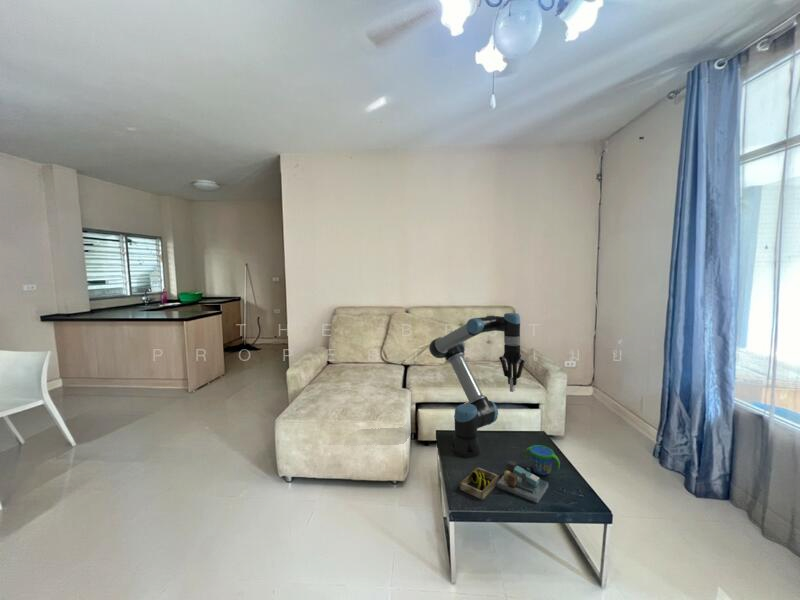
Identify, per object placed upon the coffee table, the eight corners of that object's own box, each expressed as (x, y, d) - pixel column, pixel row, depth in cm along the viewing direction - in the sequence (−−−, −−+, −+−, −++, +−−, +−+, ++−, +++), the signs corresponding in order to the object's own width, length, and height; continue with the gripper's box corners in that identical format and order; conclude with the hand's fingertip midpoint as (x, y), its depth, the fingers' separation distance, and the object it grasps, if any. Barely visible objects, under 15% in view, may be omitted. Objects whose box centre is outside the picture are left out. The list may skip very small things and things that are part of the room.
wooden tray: (460, 489, 140) (460, 482, 140) (477, 473, 152) (477, 467, 151) (482, 499, 133) (482, 492, 133) (499, 482, 145) (499, 475, 144)
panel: (497, 486, 141) (496, 471, 141) (510, 472, 152) (509, 458, 152) (537, 503, 130) (537, 486, 130) (548, 486, 141) (548, 471, 140)
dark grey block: (507, 471, 148) (507, 463, 148) (510, 468, 151) (510, 460, 150) (513, 474, 146) (513, 465, 146) (516, 471, 149) (516, 462, 149)
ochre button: (503, 478, 144) (503, 472, 143) (505, 475, 146) (505, 469, 146) (509, 480, 142) (509, 475, 141) (512, 477, 144) (512, 472, 144)
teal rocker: (512, 473, 143) (513, 468, 143) (516, 469, 146) (517, 464, 146) (535, 486, 137) (536, 482, 136) (538, 482, 140) (540, 477, 139)
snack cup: (563, 473, 150) (563, 451, 150) (554, 483, 143) (554, 460, 142) (529, 460, 161) (529, 440, 161) (520, 469, 154) (520, 448, 154)
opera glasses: (489, 493, 138) (491, 482, 138) (478, 492, 137) (480, 481, 137) (480, 480, 147) (482, 469, 147) (469, 479, 146) (471, 468, 146)
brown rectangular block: (507, 484, 139) (507, 475, 139) (510, 480, 141) (510, 471, 141) (514, 486, 137) (514, 477, 137) (517, 483, 139) (517, 474, 139)
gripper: (496, 344, 163) (496, 390, 164) (522, 346, 155) (522, 395, 156) (502, 341, 169) (502, 386, 170) (528, 344, 160) (528, 391, 161)
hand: (512, 391), depth 163 cm, fingers closed
